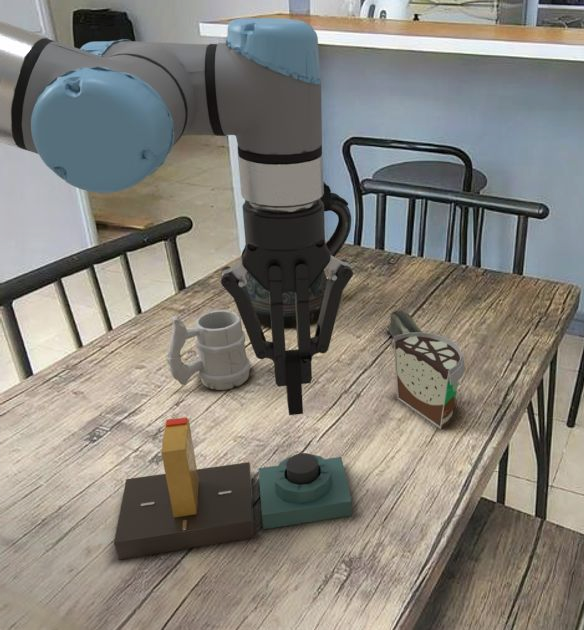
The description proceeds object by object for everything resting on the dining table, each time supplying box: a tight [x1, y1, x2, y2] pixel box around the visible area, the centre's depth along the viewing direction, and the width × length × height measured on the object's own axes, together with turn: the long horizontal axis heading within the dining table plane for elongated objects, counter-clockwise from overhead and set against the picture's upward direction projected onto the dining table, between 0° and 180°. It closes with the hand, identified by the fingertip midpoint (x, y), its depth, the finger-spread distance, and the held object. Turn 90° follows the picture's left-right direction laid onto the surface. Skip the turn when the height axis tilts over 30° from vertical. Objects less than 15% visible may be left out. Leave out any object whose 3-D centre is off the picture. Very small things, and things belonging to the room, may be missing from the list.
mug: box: [165, 309, 251, 391], centre depth 99 cm, size 8×12×12 cm, turn 127°
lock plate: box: [113, 461, 255, 560], centre depth 77 cm, size 14×10×3 cm
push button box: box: [258, 454, 353, 530], centre depth 80 cm, size 10×8×4 cm
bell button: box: [286, 452, 319, 485], centre depth 78 cm, size 4×4×2 cm
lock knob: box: [160, 417, 199, 517], centre depth 74 cm, size 6×2×9 cm, turn 14°
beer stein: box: [244, 180, 352, 329], centre depth 119 cm, size 16×19×25 cm
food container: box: [391, 331, 466, 430], centre depth 96 cm, size 12×6×10 cm, turn 41°
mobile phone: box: [385, 310, 423, 338], centre depth 110 cm, size 5×3×15 cm
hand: (295, 407), depth 74 cm, fingers closed
